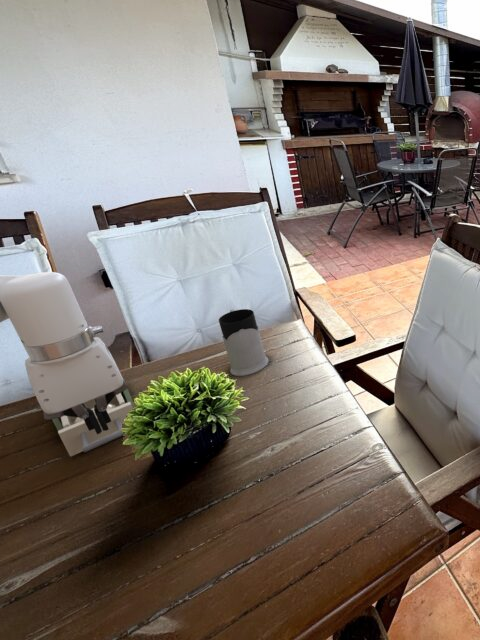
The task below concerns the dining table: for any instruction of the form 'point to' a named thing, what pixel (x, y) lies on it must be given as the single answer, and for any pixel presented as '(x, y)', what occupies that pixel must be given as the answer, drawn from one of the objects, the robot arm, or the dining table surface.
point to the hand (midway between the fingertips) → (101, 428)
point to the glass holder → (243, 342)
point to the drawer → (85, 440)
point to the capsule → (109, 407)
